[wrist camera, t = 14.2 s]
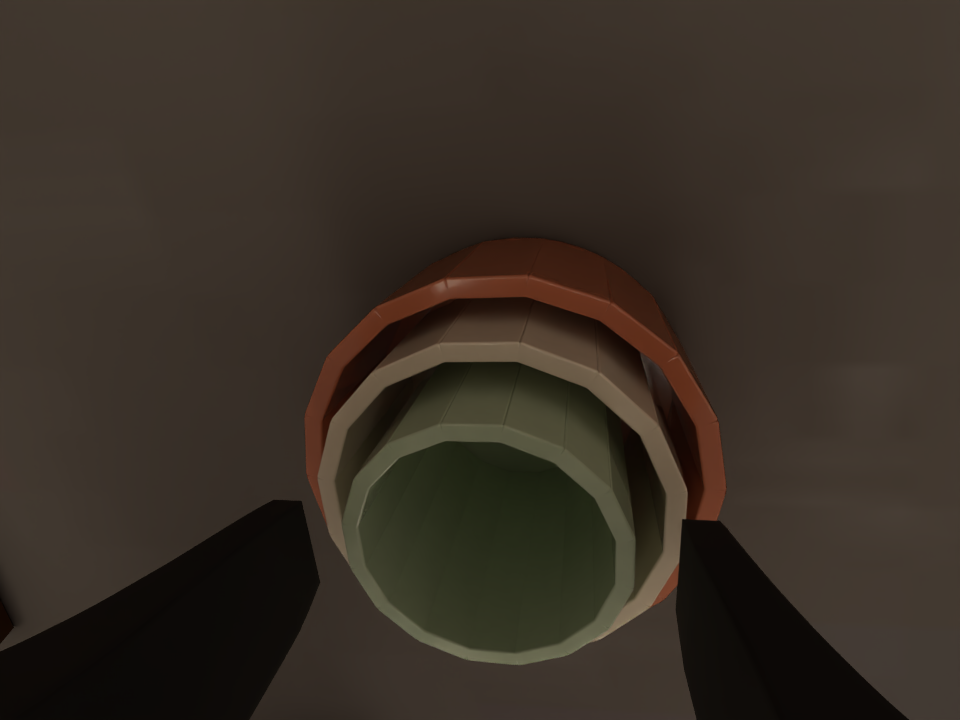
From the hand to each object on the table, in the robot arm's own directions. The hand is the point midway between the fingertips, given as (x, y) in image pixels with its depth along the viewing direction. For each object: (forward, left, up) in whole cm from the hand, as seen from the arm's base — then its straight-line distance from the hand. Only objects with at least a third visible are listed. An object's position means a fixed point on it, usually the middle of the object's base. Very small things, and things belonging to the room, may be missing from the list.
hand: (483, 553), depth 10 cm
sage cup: (0, 0, -7) cm, 7 cm away
